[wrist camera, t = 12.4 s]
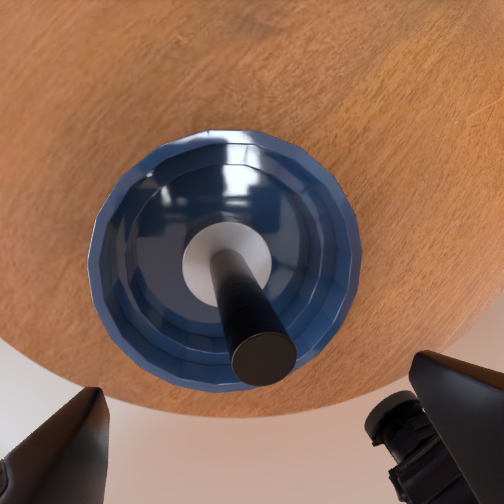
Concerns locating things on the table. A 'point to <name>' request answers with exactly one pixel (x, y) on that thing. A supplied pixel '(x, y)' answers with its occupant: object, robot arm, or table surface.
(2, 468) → the robot arm
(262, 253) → the paper towel holder
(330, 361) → the table surface
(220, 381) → the bowl
